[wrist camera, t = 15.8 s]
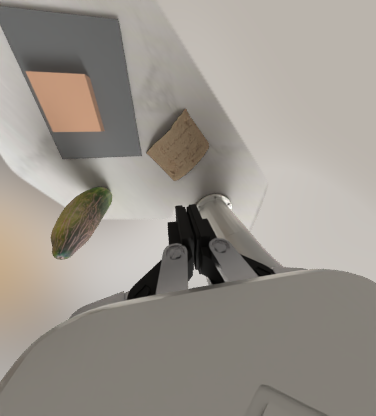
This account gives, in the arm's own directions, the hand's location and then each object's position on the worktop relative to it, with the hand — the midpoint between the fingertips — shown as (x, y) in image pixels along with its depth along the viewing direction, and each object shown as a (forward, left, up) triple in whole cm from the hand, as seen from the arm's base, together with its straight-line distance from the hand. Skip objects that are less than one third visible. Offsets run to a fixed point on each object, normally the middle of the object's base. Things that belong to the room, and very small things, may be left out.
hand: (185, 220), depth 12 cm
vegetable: (-8, +17, -27) cm, 32 cm away
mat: (+10, +14, -26) cm, 31 cm away
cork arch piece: (+1, -3, -27) cm, 27 cm away
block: (+9, +12, -25) cm, 29 cm away
